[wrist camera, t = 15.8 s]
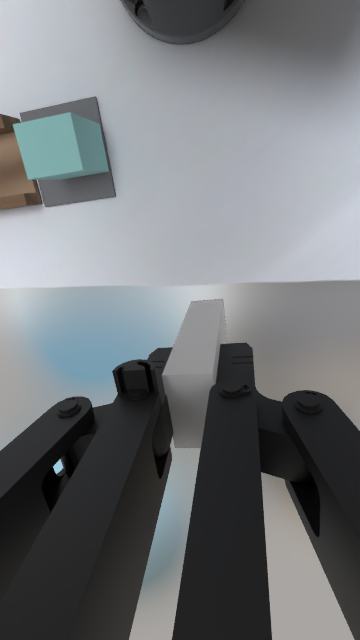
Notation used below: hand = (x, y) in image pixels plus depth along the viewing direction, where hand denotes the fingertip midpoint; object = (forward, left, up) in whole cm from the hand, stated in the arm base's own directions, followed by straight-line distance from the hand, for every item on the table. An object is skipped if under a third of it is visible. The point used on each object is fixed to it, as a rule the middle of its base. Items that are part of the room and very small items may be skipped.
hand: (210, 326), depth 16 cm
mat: (-12, -19, -29) cm, 37 cm away
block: (-12, -17, -29) cm, 36 cm away
